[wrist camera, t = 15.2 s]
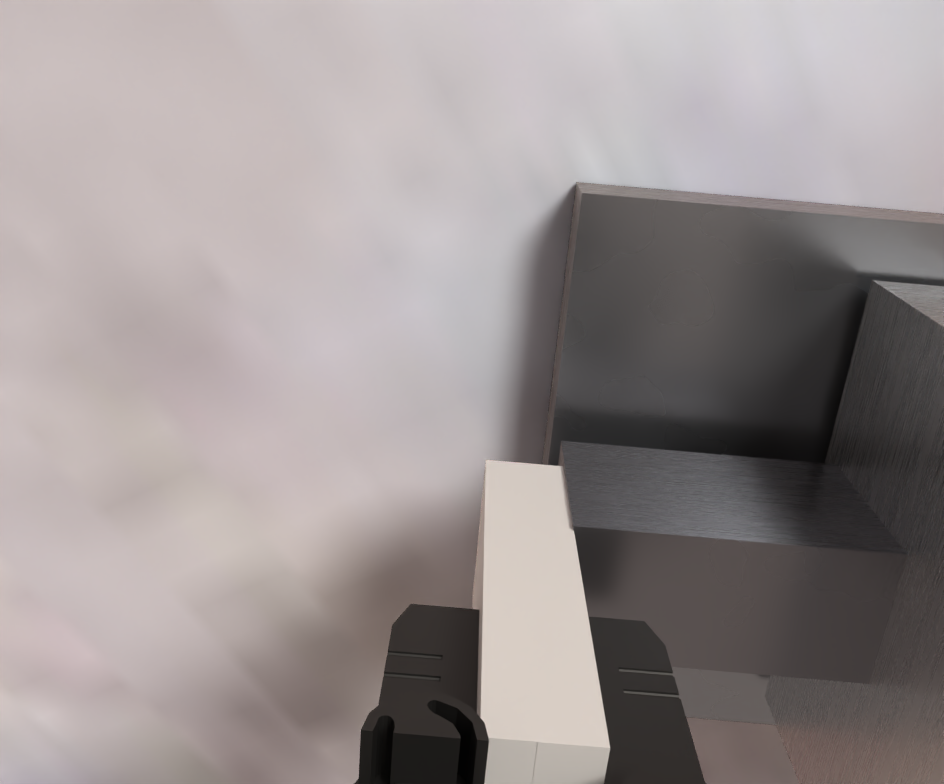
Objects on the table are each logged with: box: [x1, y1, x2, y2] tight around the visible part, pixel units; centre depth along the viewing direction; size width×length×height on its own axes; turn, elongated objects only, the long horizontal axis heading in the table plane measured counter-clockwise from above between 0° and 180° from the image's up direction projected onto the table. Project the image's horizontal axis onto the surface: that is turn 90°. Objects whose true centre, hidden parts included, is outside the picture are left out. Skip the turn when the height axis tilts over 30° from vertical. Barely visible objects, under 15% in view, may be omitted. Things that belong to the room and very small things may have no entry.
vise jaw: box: [558, 280, 944, 784], centre depth 14 cm, size 7×9×7 cm
